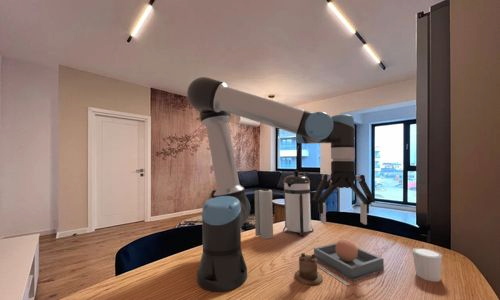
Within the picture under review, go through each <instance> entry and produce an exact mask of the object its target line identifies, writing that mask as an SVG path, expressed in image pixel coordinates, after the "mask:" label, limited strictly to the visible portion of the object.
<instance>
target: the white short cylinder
mask: <svg viewBox="0 0 500 300" xmlns="http://www.w3.org/2000/svg"><path fill="white" fill-rule="evenodd" d="M412 257H413V264H414V269H415V274H416V276H417V277H418V278H420V279H422V280H425V281H429V282H441V280H442V278H441V277H442V276H441V275H442V264H443V263H442V260H443V255H442V253H440V252H438V251H436V250H434V249H430V248H429V249H428V248H425V247H424V248H423V247H414V248H412Z"/></svg>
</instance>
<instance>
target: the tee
mask: <svg viewBox="0 0 500 300" xmlns="http://www.w3.org/2000/svg"><path fill="white" fill-rule="evenodd" d="M317 264H318V260H317V259H316V255H314V253H313V254H311V255H309V254H306V253H304V252H301V254H300V256H299V257H298V265H299V266H298V269H297V270H296V271H295V273H294V279H295V280H296V281H297V282H298V283H300V284H303V285H305V286H318V285H320V284H321V283H322V282H323V279H324V278H323V274H322V273H320V272H318V267H317Z"/></svg>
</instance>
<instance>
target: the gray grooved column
mask: <svg viewBox="0 0 500 300" xmlns="http://www.w3.org/2000/svg"><path fill="white" fill-rule="evenodd" d="M273 212H274V211H273V190H272V189H258V190H254V224H255V225H254V227H255V228H254V229H255V237H260V238H262V239H264V240H267V239H272V238H273V237H274V221H273V220H274V216H273V214H274V213H273Z"/></svg>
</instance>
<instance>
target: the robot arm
mask: <svg viewBox="0 0 500 300" xmlns="http://www.w3.org/2000/svg"><path fill="white" fill-rule="evenodd" d="M186 96H187V101H188V102H189V105H190V106H191V107H192V108H193V109H194V110H196V111H198V112H199V116H200V117H199V118H200V123H201V124H202V125H203V126H204V127H205V128H206V135H207V139H208V144H209V151H210V157H211V163H212V169H213V174H214V179H215V184H216V190H215V192H214V193H213V196H214V197H211V198H209V199H207V200H205V201H204V203H203V204H202V211H201V219H202V221H201V223H202V224H201V225H202V226H201V227H202V228H201V229H202V254H201V258H200V262H199V264H198V268H197V272H196V282H197V284H198V286H199V287H201V288H202V289H203V290H207V291H211V292H225V291H227V292H228V291H231V290H234V289H236V288H239V287H240V286H241V285H243V284H244V283H245V282H246V280H247V278H248V267H247V264H246V261H245V258H244V255H243V252H242V240H241V239H242V234H241V231H242V230H241V229H242V227H243V225H244V224H245V223H246V222H247V220H249V217H250V214H251V204H250V201H249V199H248V197H247V195H246V191H245V187H244V186H242V185H241V184H240V180H239V174H238V169H237V168H238V167H237V163H236V158H235V152H234V148H233V142H232V137H231V132H230V131H231V130H230V126H229V123H230V122H231V121H232V115H235V116H238V117H242V118H243V119H248V120H251V121H253V122H256V123H260V124H263V125H267V126H269V127H272V128H273V127H274V128H277V129H279V130H283V131H285V132H288V133H293V134H295V141H296V143H298V144H305V145H306V144H330V159H331V162H330V172H331V173H330V175H329V174H326V173H325V174H324V173H323V174H321V180H320V182H319V184H318V186H317V188H316V190H315V192H314V194H313V197H312V201H314V202H315V203H317V211H318V213H319V214H320V222H321V223H322V224H323V225H326V224H327V217H326V215H327V210H326V209H327V207H326V203H325V201H327V200H328V198H329V197H330V196H331V194H332V193H334V191H335V190H336V189H337V188H339V189H349V188H350V189H351V190H352V191H353V192H354V194H355V195H356V196H357V197H358V198H359V200H360V201H361V202H360V203H359V204H360V205H359V207H360V209H359V210H360V223H362V224H363V225H368V218H367V217H368V214H370V205H371V204H372V203H375V202H376V199H375V197H374V196H373V193H372V192H371V189H370V187H369V186H368V184H367V182H366V177H365V175H364V174H359V173H358V174H357V175H356V173H355V172H356V162H355V161H354V160H355V159H356V158H355V157H356V150H355V129H356V127H355V120H354V116H353V115H350V114H337V115H336V114H335V115H333V116H331V115H329V114H328V113H326V112H324V111H316V112H313V111H308V110H306V109H302V108H298V107H295V106H293V105H288V104H285V103H281V102H279V101H275V100H272V99H268V98H265V97H262V96H259V95H256V94H252V93H249V92H245V91H241V90H238V89H235V88H232V87H228V84H227V83H226V82H223V81H219V80H216V79H214V78H210V77H207V76H202V77H197V78H195V79H194V80H192V81H191V82H190V84H189V85H188V87H187V90H186ZM330 180H331V183H330V184H329V186H328V187H327V188H326V190H325V191H324V189H325V187H326V186H327V182H329V181H330ZM355 181H357V182H358V184H359V186H360V188H361V189H359V188H358V185H356V184H355ZM361 190H362V191H363V192H362V191H361ZM323 191H324V192H323ZM363 193H364V194H363Z"/></svg>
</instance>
